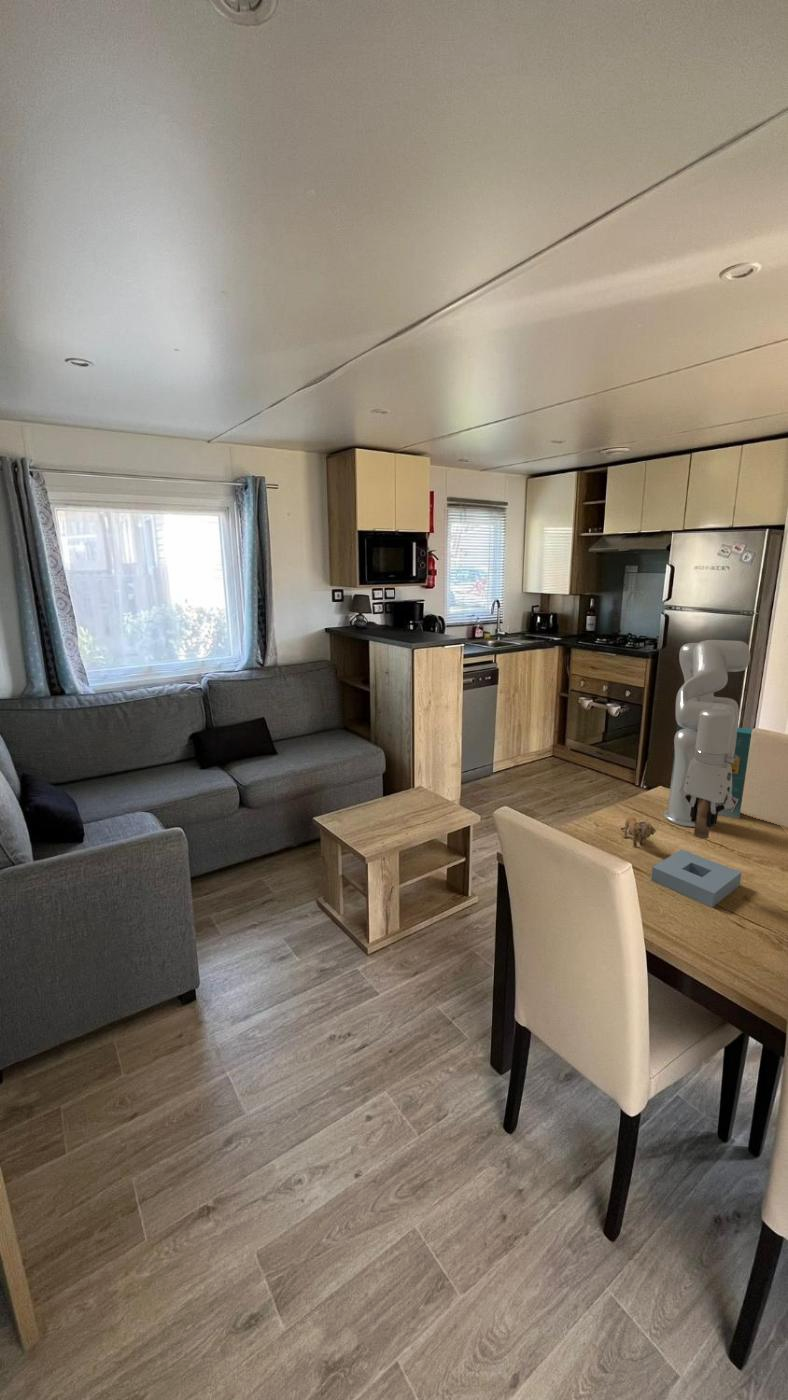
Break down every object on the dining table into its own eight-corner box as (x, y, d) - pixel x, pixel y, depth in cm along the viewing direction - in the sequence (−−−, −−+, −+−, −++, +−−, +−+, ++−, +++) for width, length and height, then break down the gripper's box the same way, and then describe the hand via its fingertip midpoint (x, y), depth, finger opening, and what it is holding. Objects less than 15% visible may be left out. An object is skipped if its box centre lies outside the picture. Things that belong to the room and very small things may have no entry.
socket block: (680, 861, 163) (681, 849, 162) (739, 885, 151) (741, 872, 150) (651, 880, 154) (652, 867, 153) (712, 907, 142) (714, 893, 141)
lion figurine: (656, 851, 169) (659, 824, 167) (640, 853, 168) (643, 825, 166) (627, 829, 183) (630, 804, 181) (612, 831, 182) (615, 805, 180)
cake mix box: (740, 812, 195) (752, 729, 188) (739, 818, 190) (751, 733, 183) (670, 798, 207) (679, 720, 200) (668, 804, 202) (677, 724, 195)
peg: (697, 831, 151) (702, 789, 149) (710, 836, 149) (716, 793, 146) (691, 835, 149) (696, 792, 147) (704, 839, 147) (710, 796, 144)
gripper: (752, 762, 140) (742, 830, 144) (685, 746, 153) (678, 809, 157) (739, 768, 135) (729, 838, 140) (671, 751, 148) (664, 816, 152)
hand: (702, 822), depth 148 cm, fingers closed on peg, 3 cm apart
